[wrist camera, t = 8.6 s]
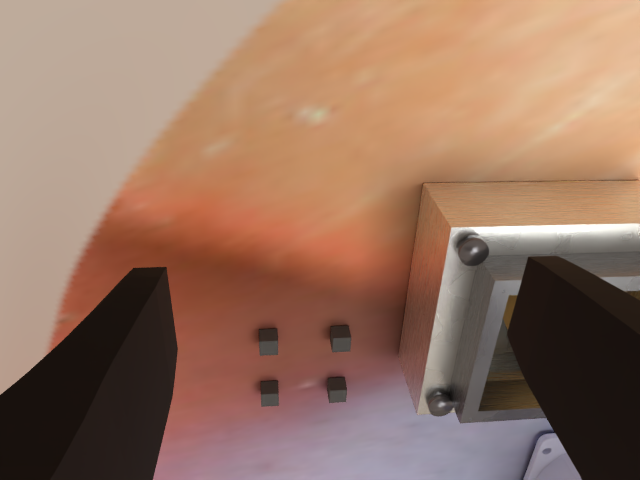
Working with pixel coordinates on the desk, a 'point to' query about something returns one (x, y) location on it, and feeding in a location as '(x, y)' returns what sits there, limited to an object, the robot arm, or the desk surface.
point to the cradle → (336, 386)
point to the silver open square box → (500, 282)
